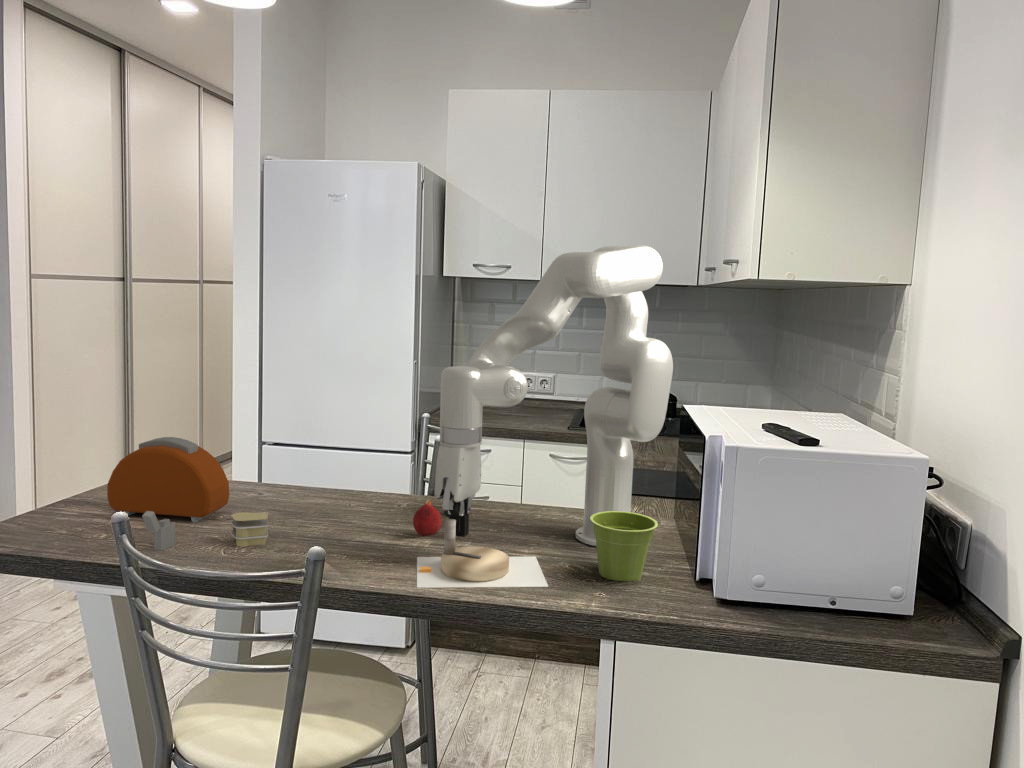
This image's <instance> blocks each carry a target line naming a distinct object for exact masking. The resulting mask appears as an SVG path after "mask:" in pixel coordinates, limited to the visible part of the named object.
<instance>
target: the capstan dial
mask: <svg viewBox="0 0 1024 768" xmlns="http://www.w3.org/2000/svg"><path fill="white" fill-rule="evenodd" d="M443 535H444V536H443V552H442V554H441V556H440V557H441V571H442V572H443V573H444V574H445V575H447V576H449V577H452V578H456V579H460V580H467V581H486V580H493V579H497V578H500V577H502V576H504V575H506V574H507V573H508V571H509V557H510V556H509V555H508V554H507V553H505V552H504V551H501V550H499V549H496V548H492V547H486V546H461V547H456V537H457V536H456V520H455V519H449V518H446V519H444V532H443Z"/></svg>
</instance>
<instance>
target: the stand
mask: <svg viewBox="0 0 1024 768" xmlns="http://www.w3.org/2000/svg"><path fill="white" fill-rule="evenodd" d="M547 587H549V584H548V581H547V579H546V577H545V575H544V572H543V570H542V568H541V566H540V563H539V562H538V559H537V556H509V571H508V573H507V574H506V575H504V576H502V577H500V578H497V579H493V580H486V581H467V580H460V579H456V578H452V577H449V576H447V575H445V574H444V573H443V572H442V571H441V556H417V557H416V588H418V589H419V588H420V589H425V588H428V589H433V588H434V589H435V588H437V589H438V588H442V589H443V588H445V589H446V588H452V589H453V588H547Z"/></svg>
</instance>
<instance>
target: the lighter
mask: <svg viewBox="0 0 1024 768" xmlns="http://www.w3.org/2000/svg"><path fill="white" fill-rule="evenodd" d="M156 515H157V514H155V513H154V512H152V511H146V512H145V513H142V516H141V517H142V520H143V522H144V525H145V527H146V529H147V532H148V533H150V534H151V533H152V534H153V551H160V552H161V551H165V550H167V549H169V548H171V547H173V546H175V545H176V544H177V543H176V522H175V521H174V522H172V521H170V519H169V518H163V519H161V520H158V518H157V516H156Z"/></svg>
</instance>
